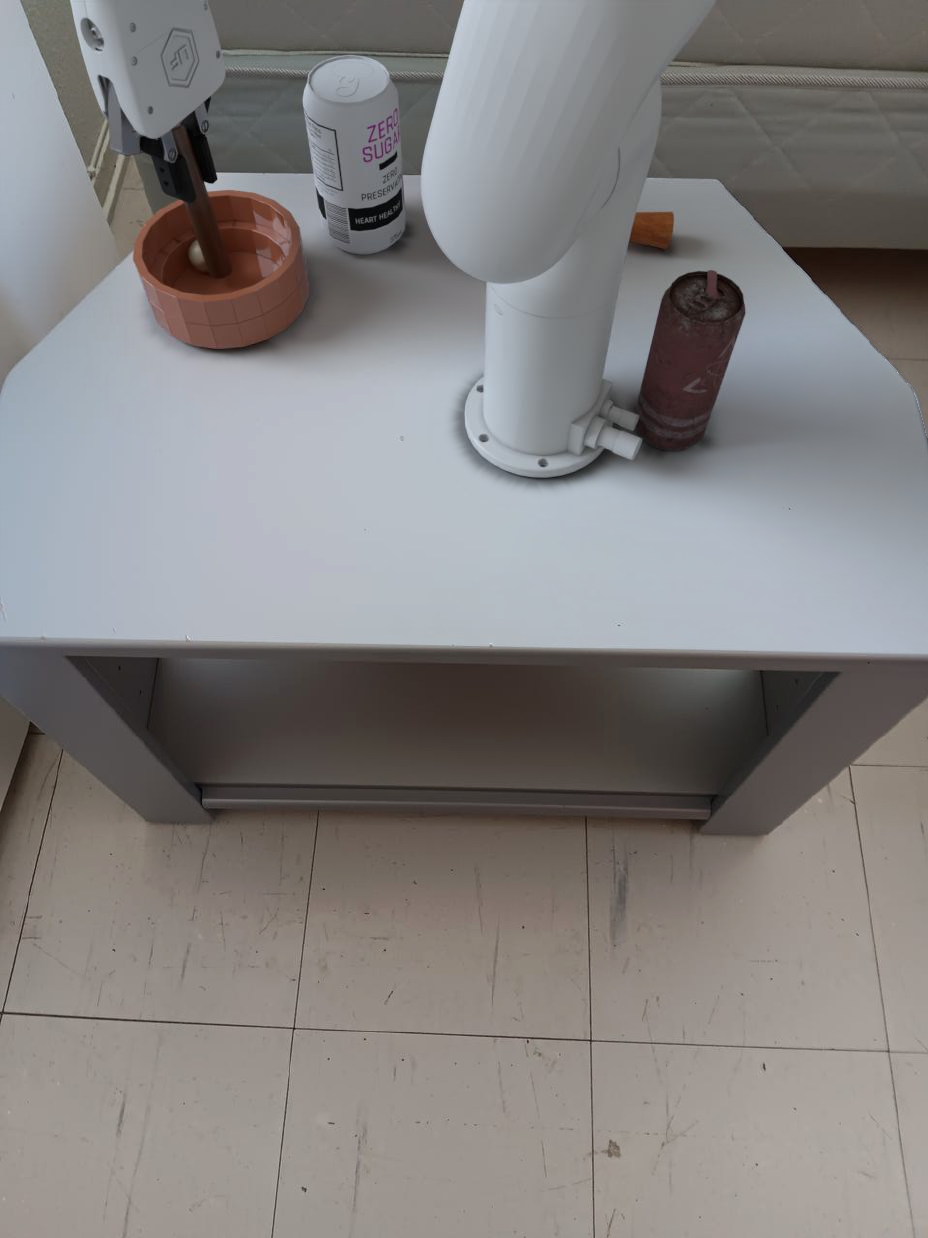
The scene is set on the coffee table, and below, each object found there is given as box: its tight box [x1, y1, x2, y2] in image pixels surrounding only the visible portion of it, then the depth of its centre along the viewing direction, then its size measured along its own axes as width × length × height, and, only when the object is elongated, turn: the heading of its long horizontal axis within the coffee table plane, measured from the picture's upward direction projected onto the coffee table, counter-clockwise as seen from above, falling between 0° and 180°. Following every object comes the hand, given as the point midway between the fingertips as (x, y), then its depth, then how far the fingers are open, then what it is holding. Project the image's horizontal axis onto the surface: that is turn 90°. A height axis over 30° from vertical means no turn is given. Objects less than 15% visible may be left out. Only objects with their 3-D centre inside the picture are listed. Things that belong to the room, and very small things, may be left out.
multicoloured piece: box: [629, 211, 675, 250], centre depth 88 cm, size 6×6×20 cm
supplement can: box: [302, 54, 407, 255], centre depth 84 cm, size 8×8×15 cm
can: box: [634, 269, 747, 452], centre depth 72 cm, size 6×6×14 cm
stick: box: [171, 120, 233, 279], centre depth 79 cm, size 2×2×14 cm
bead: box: [188, 240, 209, 272], centre depth 86 cm, size 3×3×3 cm
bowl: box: [132, 189, 310, 350], centre depth 83 cm, size 15×15×6 cm
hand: (190, 185), depth 78 cm, fingers closed on stick, 2 cm apart
